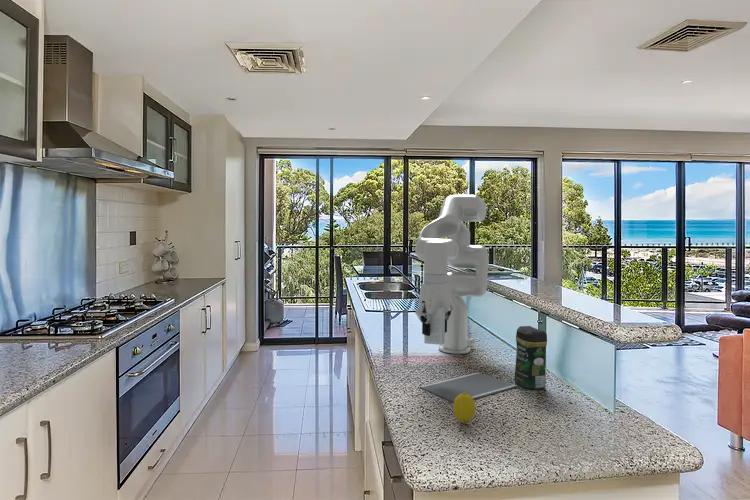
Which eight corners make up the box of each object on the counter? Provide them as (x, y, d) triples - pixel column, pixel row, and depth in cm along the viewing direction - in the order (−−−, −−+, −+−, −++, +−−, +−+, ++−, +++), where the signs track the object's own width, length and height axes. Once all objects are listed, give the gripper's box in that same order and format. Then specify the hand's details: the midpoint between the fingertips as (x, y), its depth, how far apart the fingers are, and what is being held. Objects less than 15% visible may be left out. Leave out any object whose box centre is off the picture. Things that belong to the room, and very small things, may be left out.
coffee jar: (510, 381, 156) (512, 324, 155) (531, 379, 158) (533, 323, 157) (527, 391, 147) (529, 331, 146) (549, 389, 149) (552, 330, 148)
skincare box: (444, 341, 158) (445, 305, 157) (442, 345, 154) (443, 308, 153) (426, 340, 160) (427, 304, 159) (423, 343, 156) (424, 307, 155)
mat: (477, 373, 163) (478, 372, 163) (516, 387, 150) (516, 385, 150) (420, 387, 148) (420, 386, 148) (457, 404, 135) (457, 402, 135)
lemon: (450, 419, 125) (451, 388, 124) (471, 418, 125) (472, 388, 125) (455, 428, 119) (456, 396, 119) (477, 427, 120) (478, 396, 119)
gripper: (446, 275, 163) (445, 327, 164) (407, 279, 153) (406, 334, 154) (463, 278, 157) (461, 331, 158) (423, 282, 147) (422, 340, 148)
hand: (434, 332), depth 156 cm, fingers closed on skincare box, 6 cm apart
